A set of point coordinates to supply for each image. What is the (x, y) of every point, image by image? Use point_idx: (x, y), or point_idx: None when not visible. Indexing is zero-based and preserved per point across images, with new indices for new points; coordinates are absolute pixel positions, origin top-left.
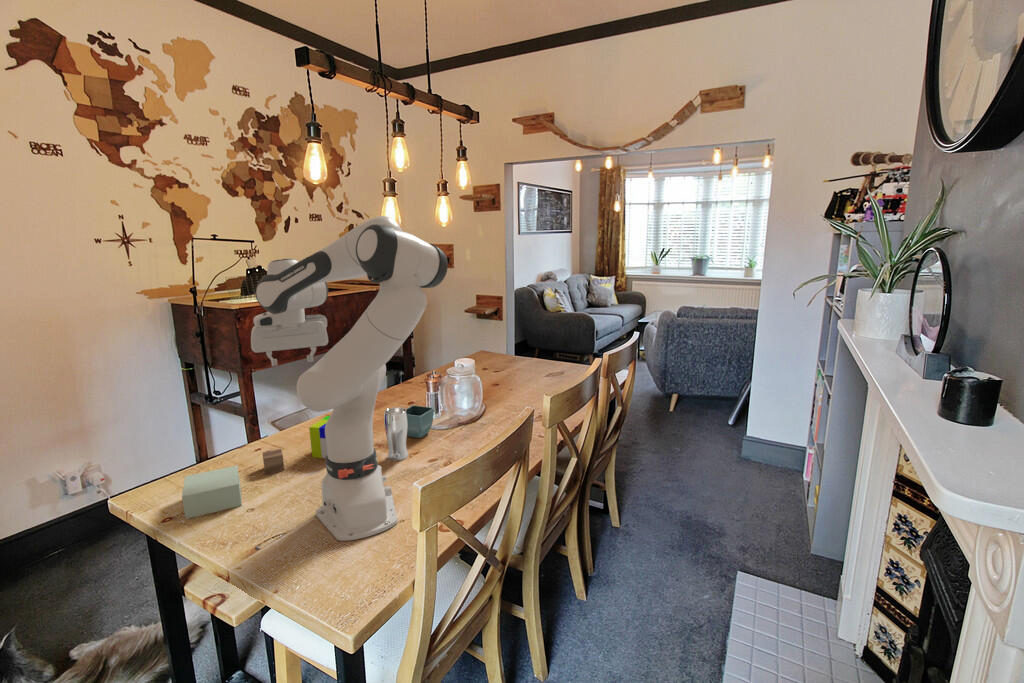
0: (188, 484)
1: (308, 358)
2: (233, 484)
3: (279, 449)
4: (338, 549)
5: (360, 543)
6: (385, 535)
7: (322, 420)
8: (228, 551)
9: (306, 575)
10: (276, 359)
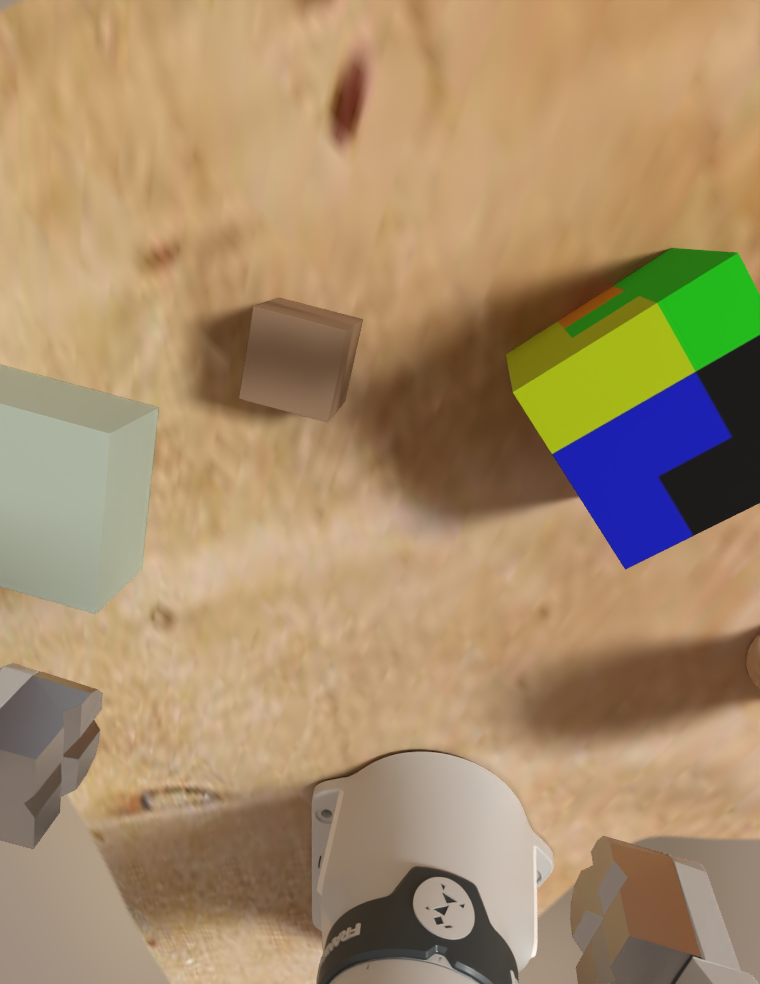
0: None
1: (590, 974)
2: (78, 603)
3: (336, 338)
4: (301, 933)
5: None
6: None
7: (646, 333)
8: None
9: (213, 948)
10: (26, 809)
